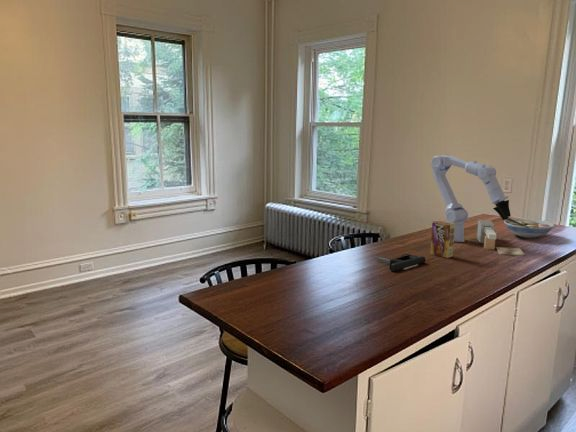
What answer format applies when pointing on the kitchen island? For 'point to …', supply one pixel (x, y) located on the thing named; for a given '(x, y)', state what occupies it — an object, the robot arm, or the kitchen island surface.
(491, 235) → the white long bar
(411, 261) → the door handle
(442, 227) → the candy box
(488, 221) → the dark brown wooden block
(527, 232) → the ramen bowl
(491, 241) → the tan rectangular block
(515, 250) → the pad
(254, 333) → the kitchen island surface
